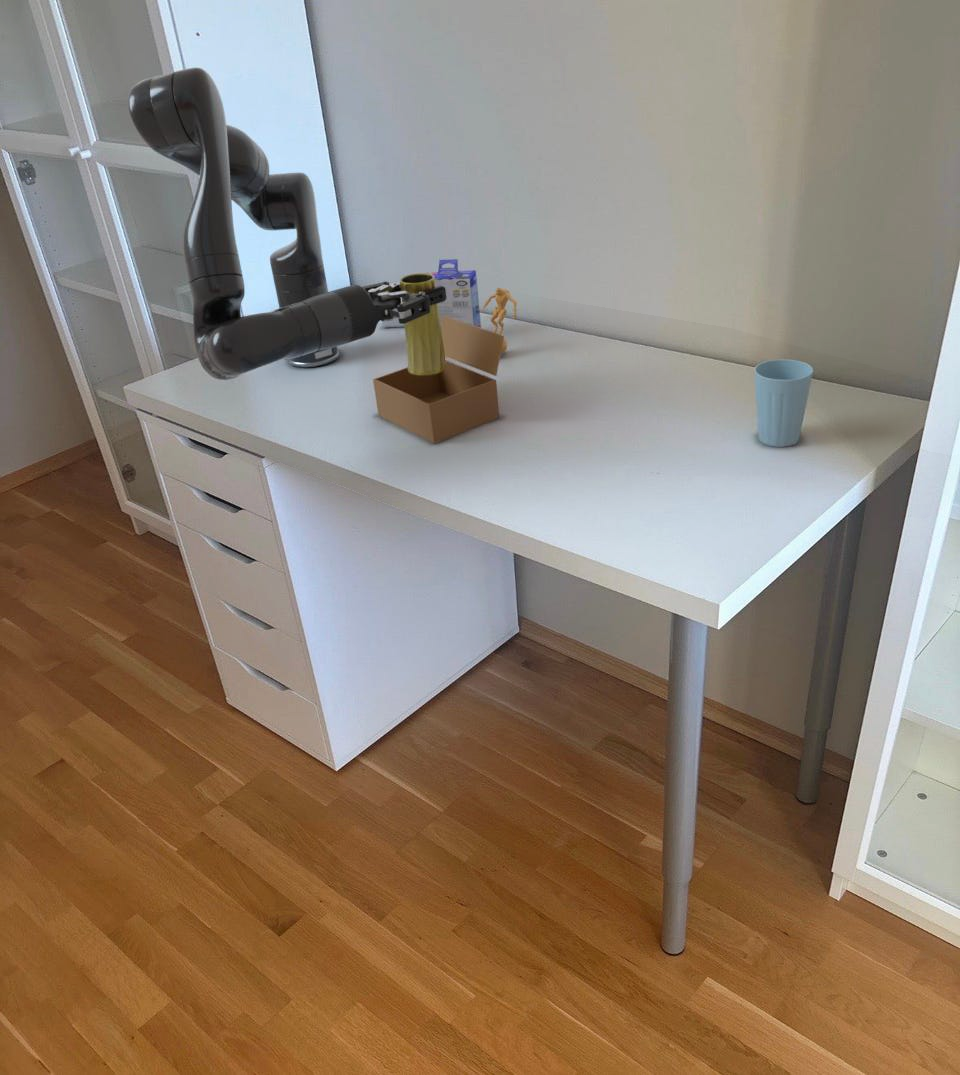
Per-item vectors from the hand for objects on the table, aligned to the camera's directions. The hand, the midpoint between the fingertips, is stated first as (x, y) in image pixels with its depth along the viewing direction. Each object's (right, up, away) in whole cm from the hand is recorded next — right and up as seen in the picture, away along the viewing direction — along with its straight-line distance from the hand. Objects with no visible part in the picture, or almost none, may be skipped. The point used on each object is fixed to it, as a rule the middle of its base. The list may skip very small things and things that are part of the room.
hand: (432, 289), depth 149 cm
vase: (-1, -11, +5) cm, 12 cm away
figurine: (+11, -4, +30) cm, 33 cm away
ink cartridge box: (+2, +1, +40) cm, 40 cm away
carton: (0, -18, +9) cm, 20 cm away
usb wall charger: (-8, +5, +50) cm, 51 cm away
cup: (+49, -24, -9) cm, 55 cm away
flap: (+5, -7, +7) cm, 11 cm away
